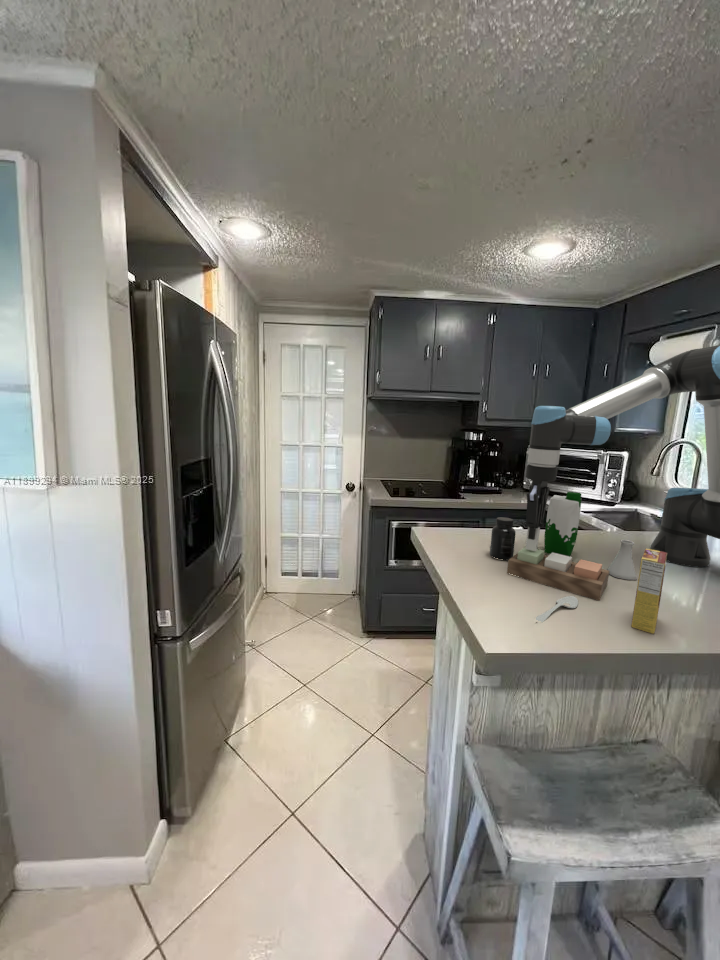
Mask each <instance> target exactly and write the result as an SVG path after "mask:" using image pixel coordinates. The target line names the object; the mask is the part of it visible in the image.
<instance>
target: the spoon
mask: <svg viewBox="0 0 720 960" xmlns="http://www.w3.org/2000/svg"><path fill="white" fill-rule="evenodd" d="M555 603H557V604H555V605H554V606H552V607H551V608H549V609H548V610H546V611H545V612H543V613H541V614H538V615H537V616H536V620H538V621H541V622H542V623H543V622H545V621H546V620H548V618H549V617H550V616H551V615H552V614H553V612H554V611H555V610H557V609H558V608H560V607H564V608H568V609H576V608H577V607H578V605H579V600H578V598H577V597H576V596H573V595H567V596H564V597H560V598H559V599H557V600H556V601H555ZM566 604H568V605H569V606H568V605H566Z"/></svg>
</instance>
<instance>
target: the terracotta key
mask: <svg viewBox="0 0 720 960" xmlns="http://www.w3.org/2000/svg"><path fill="white" fill-rule="evenodd" d="M576 563H577V564H576V566H575V569H574V575H578V576H582V577H586V578H589V579H593V580H597V581H598V579H599V577H600V576H601V570H602V569H603V563H598V562H594V561H589V560H585V559H579V560H578V562H576Z"/></svg>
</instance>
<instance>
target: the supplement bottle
mask: <svg viewBox="0 0 720 960" xmlns="http://www.w3.org/2000/svg"><path fill="white" fill-rule="evenodd" d="M495 520H496V521H495V525H494V526H493V527H492V529H491V536H490V537H491V538H490V547H489V555H490V557H491V556H493V557H495V558H498V559H503V560H502V561H508V560H509V559H510V558H512V557H513V556H514V553H515V543H516V535H517V534H516V533H517V532H516V530H515V529H514V528H513V526H514V519H513V518H509V517H499V516H498V517H496V519H495ZM493 557H492V558H493ZM495 558H494V559H495ZM498 559H497V560H498Z"/></svg>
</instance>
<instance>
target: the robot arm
mask: <svg viewBox="0 0 720 960" xmlns="http://www.w3.org/2000/svg"><path fill="white" fill-rule="evenodd" d="M691 392H695V402H697V403H698V404H699V405H702V406H703V418H704V432H705V435H704V436H705V448H706V449H705V451H706V470H707V483H708V484H707V485H708V487H707V488H695V487H694V488H693V487H670V488H669V489H668V490H667V491H666V496H665V498H664V503H663V511H662V516H661V522H660V528H659V531H658V533H657V535H656V536H655V537H654V539H653V541H652V542H651V543H650V546H649V549H651V550H657V551H662V552H666V553H667V558H666V562H667V563H668V562H669V563H671V564H672V563H673V564H675V565H681V566H687V567H693V566H698V567H697V568H704V567H703V566H706V567H709V566H710V562H711V555H710V550H709V545H708V541H707V538H708V536H709V537H712V538H715V539H719V540H720V344H718V345H713V346H712V345H711V346H707V347H702V348H700V347H699V348H693V349H690V350H686V351H684V352H682V353H679V354H677V355H674V356H672V357H670V358H668V359H666V360H664V361H661V362H659V363H657V364H655V365H653V366H651V367H649V368H646V369H645V370H644V372H643V373H642V375H640V376H637V377H636V378H633V379H632V380H629V381H627V382H624V383H622V384H620V385H618V386H616V387H613V388H611V389H609V390H608V391H605V392H602V393H600V394H598V395H595V396H594V397H591V398H589V399H587V400H585V401H583V402H580V403H578V404H576V405H574V406H572V407H569V408H568V409H566V408H565V406H555V405H538V406H536V407H535V408H534V410H533V415H532V420H531V427H530V438H529V447H528V450H527V451H526V455H527V463H528V464H527V465H526V467H525V468H526V469H525V478H526V479H528V480H531V481H532V482H531V485H530V486H529V490H528V491H529V492H526V513H525V514H526V516H525V517H526V518H525V524H524V526H525V527H527V533H526V540H525V546H524V547H525V549H527V550H531V551H535V552H536V551H537V549H538V546H539V545H538V544H539V539H540V531H541V528H544V526H545V525H544V518H545V513H546V507H547V502H548V497H549V494H550V491H551V490H550V487H549V486H548V485H549V484H548V483H549V482H555V481H556V480H557V475H558V467H557V466H558V465H559V463H560V456H561V455H560V454H561V449H562V448H561V446H562V444H563V445H564V444H570V445H586V446H601V445H603V444H605V443H606V442H607V441H608V440H609V437H611V436H610V435H611V430H612V427H611V426H612V425H611V422H610V420H609V419H611V418H613V417H615V416H618V415H621V414H622V413H624V412H626V411H629V410H631V409H633V408H636V407H638V406H640V405H642V404H644V403H646V402H649V401H651V400H653V399H658V400H659V399H660V400H661V399H663V398H666V397H668V396H671V395H675V394H680V393H691ZM708 565H709V566H708Z"/></svg>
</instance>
